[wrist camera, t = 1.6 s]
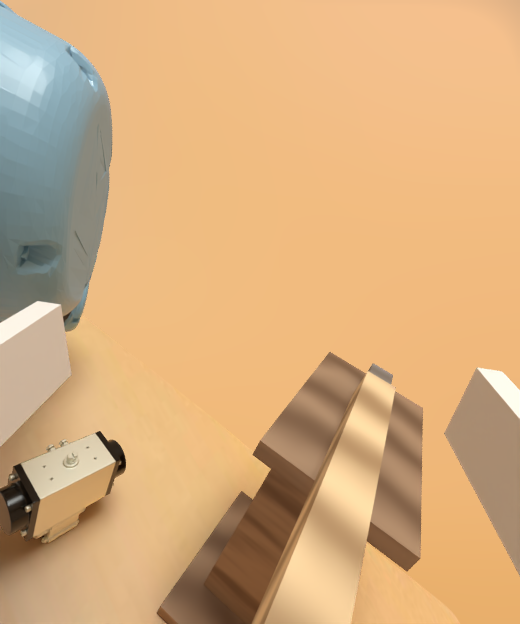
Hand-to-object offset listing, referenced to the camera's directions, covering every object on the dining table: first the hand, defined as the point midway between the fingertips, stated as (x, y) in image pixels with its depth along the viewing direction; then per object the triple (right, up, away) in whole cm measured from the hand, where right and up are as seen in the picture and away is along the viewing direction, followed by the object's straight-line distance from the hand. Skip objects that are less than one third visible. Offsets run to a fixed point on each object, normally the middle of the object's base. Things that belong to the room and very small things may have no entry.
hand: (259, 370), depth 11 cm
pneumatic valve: (-24, -23, +29) cm, 45 cm away
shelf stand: (-1, -32, +31) cm, 45 cm away
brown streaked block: (+6, -10, +14) cm, 18 cm away
